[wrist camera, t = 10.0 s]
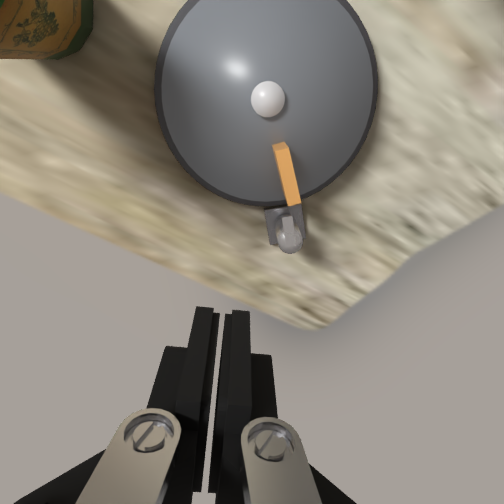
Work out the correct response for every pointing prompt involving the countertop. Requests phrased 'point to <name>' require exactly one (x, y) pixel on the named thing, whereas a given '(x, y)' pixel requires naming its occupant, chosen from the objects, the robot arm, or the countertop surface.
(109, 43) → the countertop surface
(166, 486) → the robot arm
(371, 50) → the turntable base
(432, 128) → the countertop surface
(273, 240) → the capsule on square base
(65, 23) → the bottle
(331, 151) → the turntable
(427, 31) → the countertop surface
